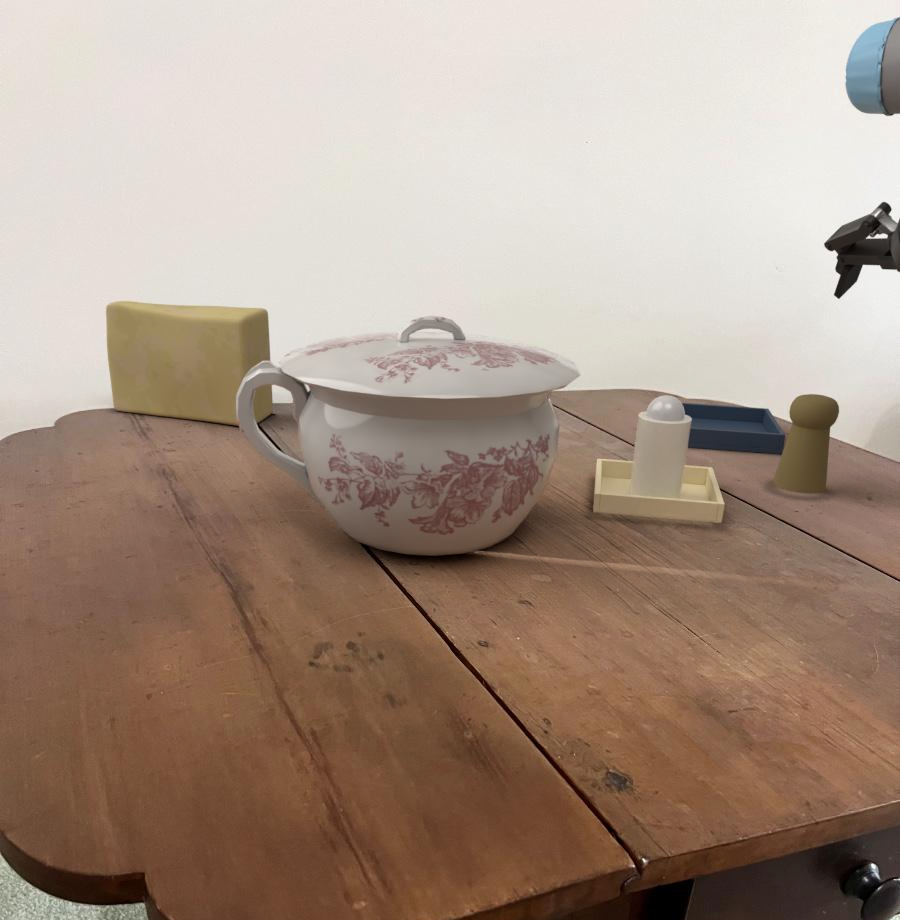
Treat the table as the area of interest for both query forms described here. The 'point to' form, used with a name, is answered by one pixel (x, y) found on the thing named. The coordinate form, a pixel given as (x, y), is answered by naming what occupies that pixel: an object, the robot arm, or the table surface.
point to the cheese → (185, 359)
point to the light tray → (695, 502)
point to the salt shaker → (660, 449)
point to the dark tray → (734, 428)
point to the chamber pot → (418, 433)
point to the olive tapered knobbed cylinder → (807, 445)
